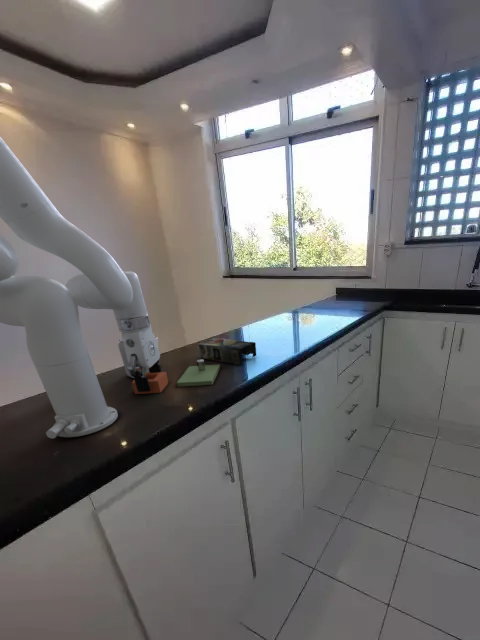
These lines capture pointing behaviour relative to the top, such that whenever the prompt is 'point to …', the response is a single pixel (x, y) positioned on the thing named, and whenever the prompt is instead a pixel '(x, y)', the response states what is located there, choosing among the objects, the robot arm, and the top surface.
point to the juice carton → (226, 350)
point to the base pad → (199, 374)
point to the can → (124, 358)
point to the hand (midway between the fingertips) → (151, 383)
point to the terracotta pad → (154, 382)
